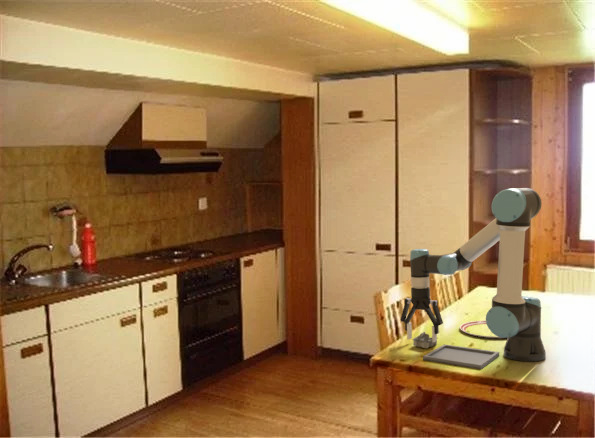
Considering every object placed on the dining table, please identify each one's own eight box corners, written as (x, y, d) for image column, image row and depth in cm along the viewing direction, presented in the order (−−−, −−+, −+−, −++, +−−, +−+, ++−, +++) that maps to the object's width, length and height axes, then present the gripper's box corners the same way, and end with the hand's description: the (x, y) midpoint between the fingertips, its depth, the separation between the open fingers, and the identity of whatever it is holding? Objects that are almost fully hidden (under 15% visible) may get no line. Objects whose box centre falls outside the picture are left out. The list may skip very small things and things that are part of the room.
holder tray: (499, 355, 240) (499, 352, 240) (480, 369, 224) (480, 365, 224) (444, 347, 253) (444, 344, 253) (423, 360, 237) (423, 356, 237)
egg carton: (424, 340, 263) (424, 331, 262) (439, 344, 257) (440, 335, 257) (410, 345, 255) (410, 335, 254) (425, 349, 250) (426, 339, 249)
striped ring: (529, 343, 258) (529, 335, 258) (461, 341, 264) (461, 333, 264) (519, 328, 285) (519, 321, 285) (458, 326, 291) (458, 319, 290)
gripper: (450, 287, 251) (452, 341, 252) (399, 283, 265) (400, 335, 266) (443, 290, 245) (444, 345, 246) (391, 286, 259) (392, 339, 260)
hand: (421, 340), depth 256 cm, fingers open, 10 cm apart
